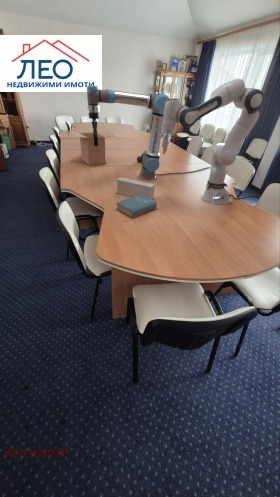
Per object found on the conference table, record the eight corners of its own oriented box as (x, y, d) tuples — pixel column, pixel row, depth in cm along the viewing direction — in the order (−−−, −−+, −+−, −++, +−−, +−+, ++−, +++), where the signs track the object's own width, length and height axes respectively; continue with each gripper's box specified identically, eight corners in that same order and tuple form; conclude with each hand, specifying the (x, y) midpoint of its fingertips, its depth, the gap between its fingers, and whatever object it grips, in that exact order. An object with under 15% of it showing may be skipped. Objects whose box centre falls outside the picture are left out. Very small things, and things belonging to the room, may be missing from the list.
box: (116, 165, 229) (116, 136, 213) (83, 168, 214) (80, 137, 198) (102, 154, 259) (101, 128, 243) (71, 156, 244) (68, 129, 228)
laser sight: (156, 165, 238) (157, 155, 232) (135, 163, 241) (136, 153, 235) (157, 163, 245) (158, 153, 240) (137, 160, 248) (138, 151, 242)
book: (140, 200, 162) (140, 194, 160) (156, 208, 154) (157, 202, 151) (116, 209, 149) (116, 202, 146) (132, 218, 140) (132, 211, 137)
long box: (117, 193, 172) (117, 179, 166) (121, 190, 177) (121, 177, 170) (150, 201, 164) (151, 187, 157) (153, 198, 169) (154, 184, 162)
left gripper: (88, 110, 168) (90, 140, 181) (88, 113, 149) (91, 147, 161) (98, 110, 170) (100, 140, 182) (99, 114, 150) (101, 147, 163)
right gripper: (172, 132, 132) (168, 156, 140) (174, 127, 148) (170, 149, 156) (161, 130, 132) (158, 154, 140) (164, 126, 149) (161, 148, 157)
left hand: (95, 144), depth 172 cm, fingers open, 13 cm apart
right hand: (164, 152), depth 148 cm, fingers open, 8 cm apart
